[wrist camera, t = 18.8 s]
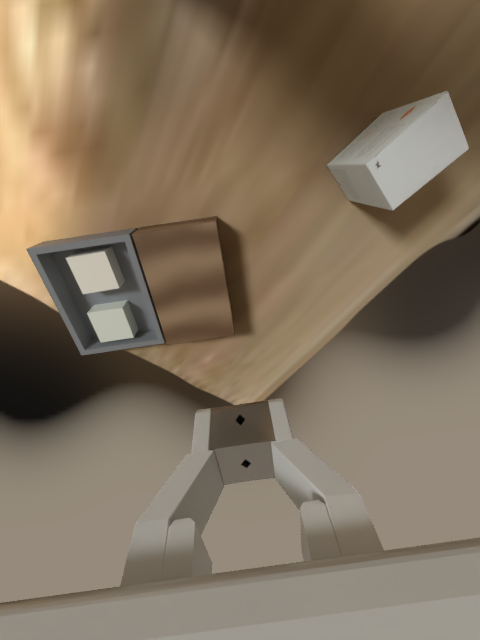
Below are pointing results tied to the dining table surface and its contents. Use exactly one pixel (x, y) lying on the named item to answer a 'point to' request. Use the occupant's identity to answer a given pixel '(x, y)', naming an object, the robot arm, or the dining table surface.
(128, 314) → the tile
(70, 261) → the tile
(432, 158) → the small box
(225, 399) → the dining table surface
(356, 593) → the robot arm
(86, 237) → the bin
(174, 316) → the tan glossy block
